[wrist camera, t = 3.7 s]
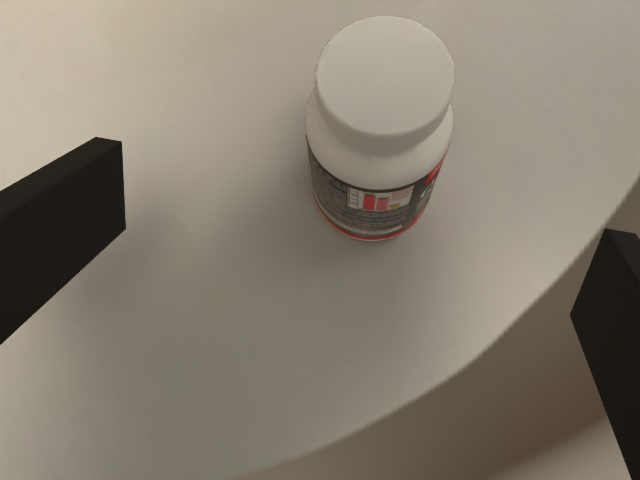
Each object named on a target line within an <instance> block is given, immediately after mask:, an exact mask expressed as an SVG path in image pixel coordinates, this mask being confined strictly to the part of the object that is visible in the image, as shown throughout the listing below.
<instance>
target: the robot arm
mask: <svg viewBox="0 0 640 480" xmlns="http://www.w3.org/2000/svg"><path fill="white" fill-rule="evenodd" d="M125 229H126V222H125V200H124V179H123V157H122V142H121V141H116V140H110V139H105V138H99V137H95V138H93V139H91V140H90V141H88V142H86V143H84V144H83V145H81V146H79V147H77V148H75V149H74V150H72V151H70V152H68V153H67V154H65V155H63V156H61V157H60V158H58V159H56V160H54V161H53V162H51V163H49V164H47V165H46V166H44V167H42V168H40V169H38V170H37V171H35V172H33V173H31V174H30V175H28V176H26V177H24V178H23V179H21V180H19V181H17V182H16V183H14V184H12V185H10V186H9V187H7V188H5V189H3V190H1V191H0V345H1V344H2V343H3V342H4V341H5V340H6V339H7V338H8V337H9V336H11V335H12V334H13V333H14V332H15V331H16V330H17V329H18V328H19V327H20V326H21V325H22V324H24V323H25V322H26V321H27V320H28V319H29V318H30V317H31V316H32V315H33V314H34V313H35V312H36V311H38V310H39V309H40V308H41V307H42V306H43V305H44V304H45V303H46V302H47V301H48V300H49V299H51V298H52V297H53V296H54V295H55V294H56V293H57V292H58V291H59V290H60V289H61V288H62V287H64V286H65V285H66V284H67V283H68V282H69V281H70V280H71V279H72V278H73V277H74V276H75V275H76V274H78V273H79V272H80V271H81V270H82V269H83V268H84V267H85V266H86V265H87V264H88V263H89V262H91V261H92V260H93V259H94V258H95V257H96V256H97V255H98V254H99V253H100V252H101V251H102V250H104V249H105V248H106V247H107V246H108V245H109V244H110V243H111V242H112V241H113V240H114V239H115V238H116V237H118V236H119V235H120V234H121V233H122V232H123V231H124V230H125ZM570 317H571V320H572V323H573V325H574V328H575V331H576V333H577V336H578V338H579V341H580V344H581V346H582V349H583V352H584V354H585V357H586V360H587V362H588V365H589V368H590V370H591V373H592V376H593V378H594V381H595V384H596V386H597V389H598V391H599V394H600V397H601V400H602V402H603V405H604V407H605V410H606V413H607V415H608V418H609V421H610V423H611V426H612V429H613V431H614V434H615V437H616V439H617V442H618V445H619V447H620V450H621V453H622V455H623V458H624V460H625V463H626V466H627V469H628V471H629V474H630V477H631V479H632V480H640V239H639V238H638V236H637V235H636V234H634V233H629V232H623V231H617V230H612V229H606V228H605V229H604V232H603V234H602V237H601V239H600V242H599V244H598V247H597V249H596V252H595V254H594V257H593V259H592V261H591V264H590V266H589V269H588V271H587V274H586V276H585V279H584V281H583V284H582V286H581V289H580V292H579V294H578V296H577V298H576V301H575V304H574V306H573V308H572V311H571V313H570Z"/></svg>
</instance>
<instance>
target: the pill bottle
mask: <svg viewBox="0 0 640 480" xmlns="http://www.w3.org/2000/svg"><path fill="white" fill-rule="evenodd" d="M453 88H454V67H453V62H452V59H451V57H450V54H449V52H448V50H447V48H446V47H445V45H444V44H443V43H442V41H441V40H440V39H439V38H438V37H437V36H436V35H435V34H434V33H433V32H432V31H430V30H429V29H428V28H426V27H424V26H423V25H421V24H419V23H417V22H414V21H412V20H409V19H406V18H402V17H395V16H374V17H369V18H364V19H361V20H358V21H355V22H353V23H351V24H349V25H347V26H346V27H344V28H343V29H341V30H340V31H338V32H337V33H336V34H335V35H334V36H333V37H332V38H331V39H330V40H329V41H328V42H327V44H326V45H325V47H324V48H323V50H322V52H321V54H320V56H319V58H318V61H317V65H316V71H315V88H314V90H313V92H312V94H311V96H310V98H309V101H308V105H307V109H306V116H305V125H306V139H307V145H308V153H309V160H310V169H311V177H312V185H313V193H314V197H315V201H316V204H317V206H318V209H319V211H320V212H321V214H322V215H323V217H324V218H325V220H326V221H327V222H328V223H329V224H330V225H331V226H332V227H334V228H335V229H336V230H337V231H339V232H340V233H342V234H344V235H346V236H349V237H351V238H354V239H358V240H364V241H380V240H386V239H389V238H393V237H395V236H397V235H399V234H401V233H403V232H405V231H406V230H408V229H409V228H410V227H411V226H412V225H413V224H414V223H415V222H416V221H417V220H418V219H419V217H420V216H421V215H422V213H423V211H424V209H425V208H426V205H427V203H428V201H429V198H430V195H431V192H432V189H433V187H434V184H435V181H436V179H437V176H438V173H439V171H440V168H441V165H442V162H443V160H444V157H445V155H446V152H447V149H448V147H449V143H450V140H451V136H452V131H453V110H452V105H451V102H450V99H451V96H452V92H453Z"/></svg>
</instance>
